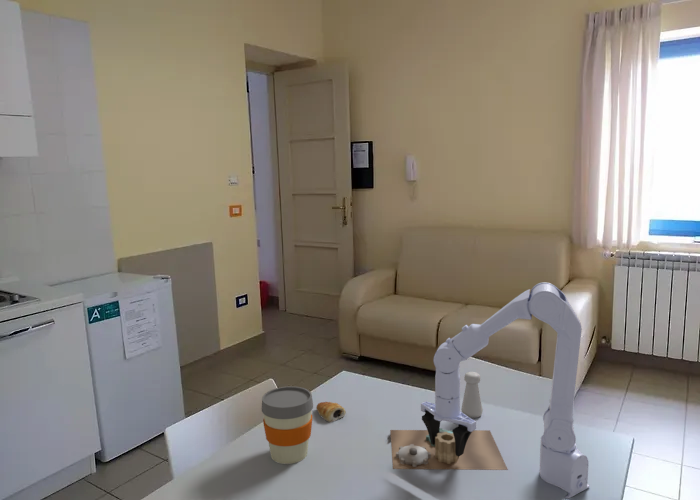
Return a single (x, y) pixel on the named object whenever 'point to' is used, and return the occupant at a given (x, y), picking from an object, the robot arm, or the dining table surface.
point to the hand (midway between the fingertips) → (447, 448)
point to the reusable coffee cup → (287, 422)
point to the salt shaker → (472, 396)
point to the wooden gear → (445, 448)
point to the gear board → (420, 454)
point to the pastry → (330, 411)
